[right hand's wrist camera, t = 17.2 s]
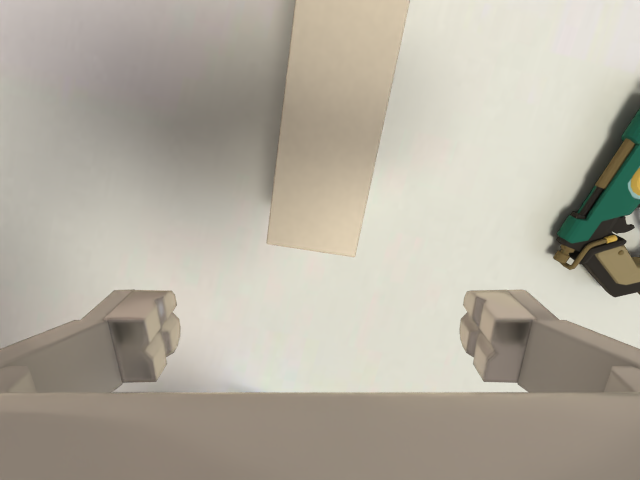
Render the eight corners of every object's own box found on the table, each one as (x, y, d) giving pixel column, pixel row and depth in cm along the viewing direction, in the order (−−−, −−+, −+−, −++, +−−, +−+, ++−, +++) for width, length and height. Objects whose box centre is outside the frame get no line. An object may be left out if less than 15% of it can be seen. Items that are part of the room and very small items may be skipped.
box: (346, 220, 33) (355, 257, 25) (279, 210, 33) (266, 244, 25) (420, -153, 24) (471, -287, 16) (328, -173, 24) (333, -320, 16)
